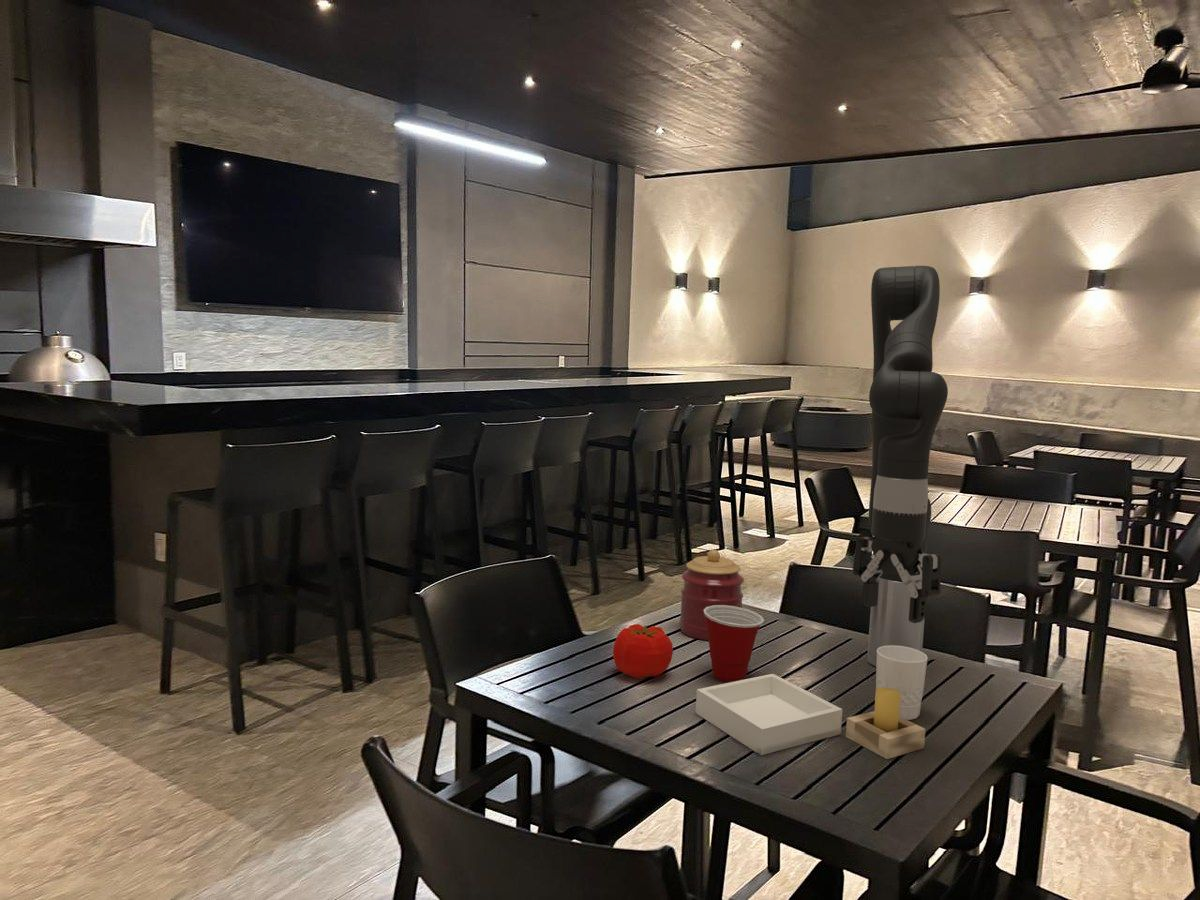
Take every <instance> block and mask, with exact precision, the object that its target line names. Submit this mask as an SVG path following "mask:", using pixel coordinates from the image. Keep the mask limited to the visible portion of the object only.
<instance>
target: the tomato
mask: <svg viewBox="0 0 1200 900" xmlns="http://www.w3.org/2000/svg"><path fill="white" fill-rule="evenodd" d="M673 647H674V646H673V643H672V641H671V638H670V637H669V636H668V635H667V634H666V632H665V631H664V630H663V628H662V627H660V626H654V625H652V626H650V627H648V628H647V625H641V624H639V623H635V624H630V625H629V626H627V627H623V628H622V629H621V630H620V631H619V633H618V634H617V636H616V638H615V639H614V643H613V649H612V657H613V661H614V665H615V666H616V668H617V669H618V671H620V673H623V674H625V675H627V676H630V677H632V678H635V679H645V678H646V677H653V678H656V677H658V676H660V675H661V674H663V673H664V672H665V671H666V670H667V669H668V668H669V666H670V665H671V661H672V658H673V655H674V654H673V653H674V648H673Z"/></svg>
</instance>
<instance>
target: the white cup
mask: <svg viewBox="0 0 1200 900" xmlns="http://www.w3.org/2000/svg"><path fill="white" fill-rule="evenodd" d="M928 659H929V658H928V655H927V654H926V653H925V652H923V651H922V652H921V651H919V650H916V649H913V648H909V647H904V646H893V645H890V646H882V647H879V648H878V649H877V662H876V666H875V667H876V668H875V690H876V689H877V688H880V687H886V688H892V689H895V690H897V691H899V692H900V705H899V716H900V717H902V718H904V719H906V720H908V721H909V720H910V721H911V720H915V719H917V718H918V717H919V716H920V714H921V706H922V699H923V696H924V695H923V694H924V688H925V682H926V673H927V665H928Z"/></svg>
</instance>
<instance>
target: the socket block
mask: <svg viewBox="0 0 1200 900" xmlns="http://www.w3.org/2000/svg"><path fill="white" fill-rule="evenodd" d="M873 724H874V710H873V711H869V712H865V713H862V714H861V713H860V714H857V715H854V716H849V717H847V718H846V725H845V726H846V727H845V729H846V730H845V737H846V738H847V739H849V740H851V741H853V742H854V743H857V744H858V745H860V746H862V747H863V748H865V749H867V750H869V751H870V752H872V753H875V754H876V755H878V756H879V757H882V758H884V759H886V760H890V759H892V758H895V757H898V756H902V755H905V754H909V753H911V752H916V751H919V750H922V749H924V748H925V741H926V740H925V739H926V728H924V727H923V726H921V725H918V724H916V723H914V722H912V721H911V720H910V721H909V720H906V719H904V718H902V717H900V716H899V719H898V730H895V731H892V732H888V733H887V732H885V731H883V730H881V729H879V728H877V727H875V726H873Z"/></svg>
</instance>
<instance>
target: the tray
mask: <svg viewBox="0 0 1200 900" xmlns="http://www.w3.org/2000/svg"><path fill="white" fill-rule="evenodd" d="M695 699H696V701H695V704H696V705H695V714H697V715H698V716H699V717H700V718H702V719H704V720H705V721H707V722H708V723H710V724H711V725H713V726H715V727H716V728H718V729H719V730H721V731H723V733H726V734H727V735H729V736H730V737H731V738H733V739H735V740H736V741H738V742H739V743H741V744H743V745H744V746H745V747H747V748H749V749H750V750H752V751H753V752H755V753H757V755H759V756H764V755H767V754H772V753H776V752H779V751H782V750H786V749H790V748H794V747H797V746H801V745H804V744H809V743H812V742H816V741H820V740H824V739H828V738H831V737H834V736H835V737H836V736H838V735H839V736H840V735H841V734H842V721H843V708H841V707H839V706H837V705H835V704H833V703H831V702H829V701H827V700H825V699H824V698H822V697H819V696H817V695H815V694H814V693H811V692H809V691H808V690H806V689H804V688H801V687H800V686H799V685H796V684H794V683H792V682H790V681H788V680H786V679H784V678H782V677H781V676H778V675H777V674H775V673H770V674H765V675H761V676H755V677H750V678H745V679H744V680H740V681H735V682H725V683H721V684H715V685H711V686H707V687H706V686H705V687H702V688H697V689H696V698H695Z"/></svg>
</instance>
